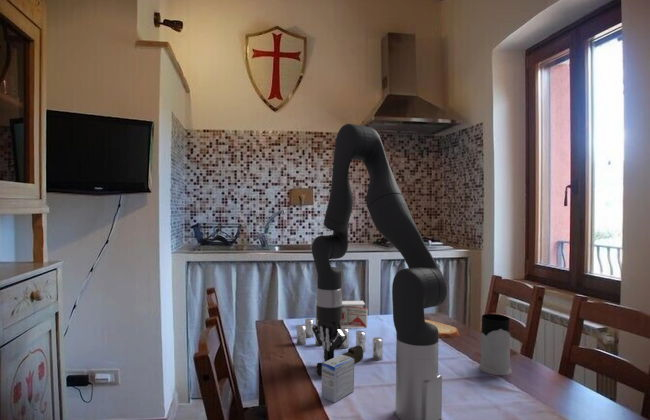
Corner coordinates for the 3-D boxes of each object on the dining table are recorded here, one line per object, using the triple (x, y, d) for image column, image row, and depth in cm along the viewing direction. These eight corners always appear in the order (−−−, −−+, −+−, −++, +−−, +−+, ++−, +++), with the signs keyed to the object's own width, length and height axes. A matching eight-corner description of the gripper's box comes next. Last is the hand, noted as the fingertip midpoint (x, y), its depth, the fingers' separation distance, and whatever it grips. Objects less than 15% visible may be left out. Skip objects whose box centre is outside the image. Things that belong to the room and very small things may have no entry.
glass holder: (485, 375, 114) (485, 321, 114) (468, 356, 129) (469, 308, 129) (516, 375, 114) (517, 321, 114) (497, 356, 128) (497, 308, 128)
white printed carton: (316, 329, 156) (316, 304, 156) (315, 324, 162) (315, 301, 162) (368, 328, 157) (368, 304, 157) (365, 324, 163) (366, 300, 163)
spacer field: (386, 357, 127) (386, 338, 127) (358, 368, 118) (358, 348, 118) (315, 332, 151) (316, 316, 151) (287, 340, 142) (287, 323, 142)
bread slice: (463, 337, 148) (463, 327, 148) (417, 341, 144) (417, 330, 144) (439, 323, 165) (439, 314, 165) (397, 326, 161) (397, 316, 161)
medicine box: (340, 386, 106) (340, 353, 106) (354, 392, 104) (354, 357, 104) (320, 397, 100) (321, 362, 100) (335, 403, 98) (335, 367, 97)
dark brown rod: (325, 380, 111) (325, 363, 111) (315, 375, 114) (315, 358, 114) (369, 361, 125) (370, 346, 124) (359, 358, 127) (360, 343, 127)
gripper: (354, 305, 118) (354, 365, 118) (323, 297, 128) (323, 353, 128) (335, 309, 113) (335, 372, 113) (304, 301, 123) (304, 359, 123)
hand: (328, 362), depth 121 cm, fingers closed
